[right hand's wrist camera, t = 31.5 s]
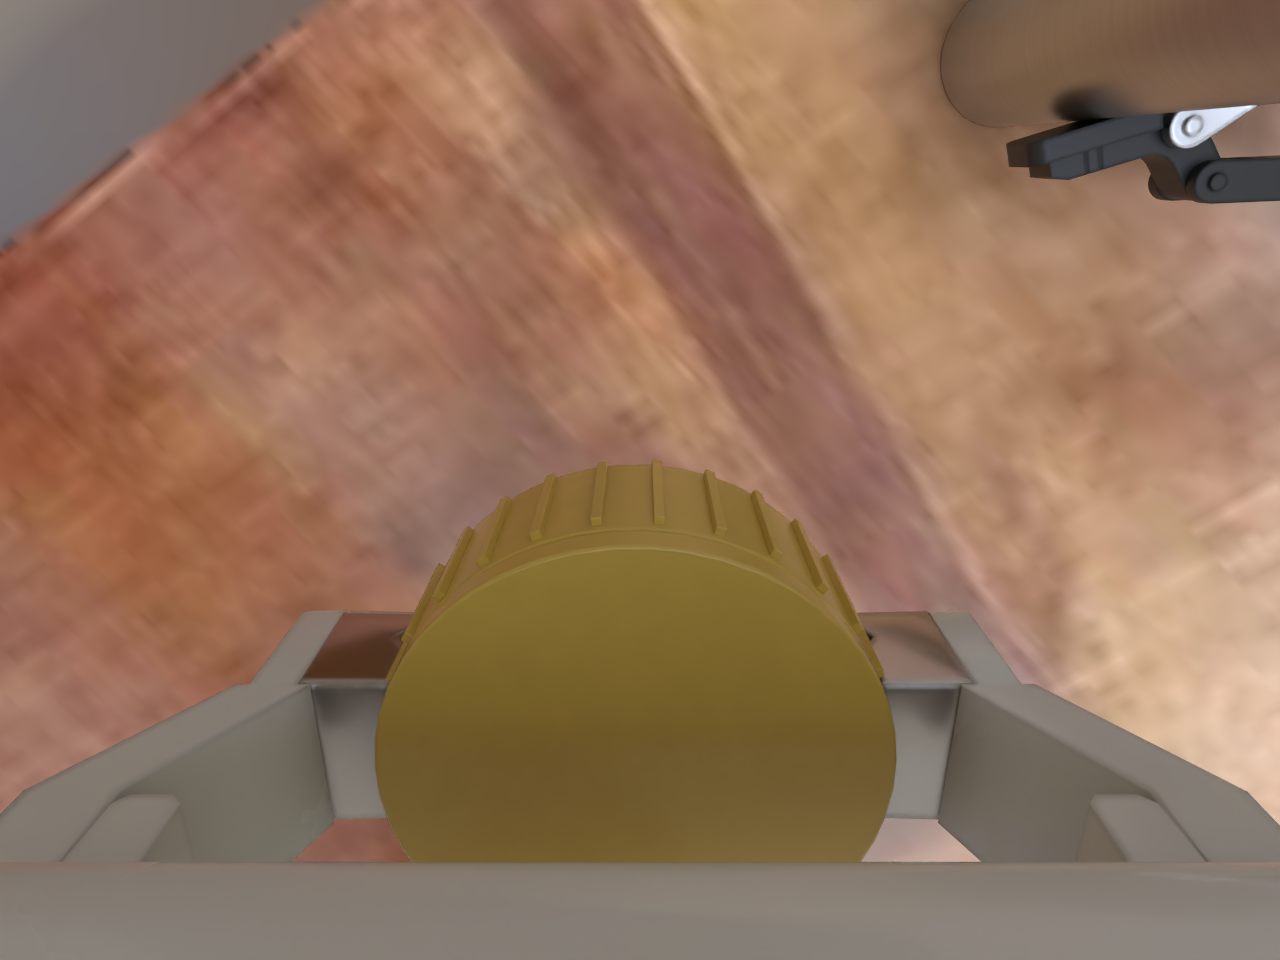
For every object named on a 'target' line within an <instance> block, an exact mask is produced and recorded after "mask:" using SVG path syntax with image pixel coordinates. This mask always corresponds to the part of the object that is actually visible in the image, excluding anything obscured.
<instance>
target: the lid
mask: <svg viewBox="0 0 1280 960" xmlns="http://www.w3.org/2000/svg"><path fill="white" fill-rule="evenodd" d="M401 641H403V644H402V646H401V648H400V650H399V652H398V654H397V656H396V658H395V660H394V662H393V664H392V666H391V668H390V670H389V672H388V674H387V676H386V679H385V680H390V682H389V684H388V687H387V690H386V693H385V696H384V699H383V702H382V705H381V708H380V711H379V715H378V722H377V728H376V734H375V772H376V778H377V784H378V790H379V796H380V799H381V802H382V805H383V808H384V811H385V814H386V817H387V820H388V823H389V825H390V827H391V829H392V831H393V833H394V835H395V836H396V838H397V840H398V842H399V844H400V846H401V848H402V849H403V851H404V852H405V853H406V855H407V856H408V858H409V859H410V861H411V862H861V861H862V859H863V857H864V856H865V854H866V853H867V851H868V850H869V848H870V847H871V845H872V844H873V842H874V840H875V838H876V836H877V834H878V832H879V829H880V827H881V825H882V823H883V821H884V819H885V816H886V813H887V810H888V806H889V803H890V799H891V796H892V792H893V788H894V780H895V771H896V763H897V753H896V732H895V728H894V723H893V718H892V713H891V709H890V704H889V702H888V699H887V697H886V694H885V692H884V689H883V686H882V684H881V681H880V679H879V678H880V677H883V676H885V674H884V671H883V668H882V666H881V664H880V661H879V659H878V657H877V655H876V653H875V651H874V649H873V647H872V644H871V642H870V640H869V638H868V636H867V634H866V632H865V630H864V627H863V625H862V623H861V621H860V619H859V617H858V615H857V613H856V610H855V608H854V606H853V604H852V602H851V600H850V598H849V596H848V594H847V592H846V590H845V588H844V586H843V584H842V581H841V579H840V577H839V575H838V573H837V571H836V569H835V566H834V564H833V562H832V560H831V559H830V557H829V556H828V555H825V556H824V557H821V555H820V554H819V553H818V551H817V550H816V549H815V548H814V546H813V545H812V544H811V543H810V541H809V539H808V537H807V535H806V532H805V530H804V528H803V526H802V523H800V522H799V521H798V520H797V519H795V520H794V521H792V522H790V521H789V520H788V519H787V518H786V517H785V516H784V515H783V514H781V513H780V512H778V511H777V510H776V509H774V508H773V507H771V506H770V505H769V504H767V503H766V502H765V501H764V498H763V495H762V493H760V492H758V491H756V490H754V491H753V492H752V494H750V493H748V492H747V491H745V490H743V489H741V488H739V487H737V486H735V485H733V484H730V483H727V482H725V481H722V480H719V479H716V478H715V474H714V472H711V471H708V470H705V473H704V474H701V473H696V472H692V471H688V470H684V469H679V468H672V467H662V462H661V461H652V465H616V466H609V467H608V464H607V462H602V463H598V466H597V468H594V469H587V470H583V471H579V472H576V473H572V474H568V475H565V476H561V477H557V478H556V476H555V474H552V475H549V476H546V479H545V482H544V483H543V484H540V485H538V486H535V487H533V488H531V489H529V490H527V491H525V492H523V493H522V494H520V495H518V496H516V497H515V498H513V499H511V500H510V498H509V497H508V496H506V497H504V498H502V499H501V500H500V502H499V504H498V507H497V509H496V510H495V511H494V512H493V513H491V514H490V515H489V516H488V517H486V518H485V519H484V520H483V521H482V522H481V523H480V524H479V525H478V526H477V527H476V528H475V529H474V530H472V529H471V528H470V527H469V526H468V527H467V528H466V529H465V530H464V531H463V532H462V534H461V536H460V539H459V541H458V543H457V545H456V547H455V549H454V551H453V553H452V556H451V558H450V559H449V560H448V562H447V564H446V566H444V565H442V564H440V563H439V564H438V566H437V568H436V570H435V572H434V574H433V576H432V578H431V580H430V582H429V584H428V586H427V588H426V590H425V592H424V594H423V596H422V598H421V600H420V602H419V604H418V606H417V608H416V610H415V612H414V614H413V616H412V618H411V620H410V622H409V624H408V626H407V628H406V630H405V632H404V634H403V636H402V638H401Z"/></svg>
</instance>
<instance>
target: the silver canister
mask: <svg viewBox="0 0 1280 960" xmlns="http://www.w3.org/2000/svg"><path fill="white" fill-rule="evenodd" d="M941 74H942V81H943V85H944V88H945V91H946V94H947V96H948V98H949V100H950V101H951V103H952V104H953V106H954V107H955V108H956V110H957V111H958V112H959V113H960V114H961V115H963V116H964V117H965V118H967V119H968V120H970V121H972V122H974V123H976V124H979V125H982V126H986V127H994V128H1001V127H1013V126H1024V125H1036V124H1047V123H1058V122H1070V121H1081V120H1093V119H1104V118H1115V117H1127V116H1138V115H1150V114H1161V113H1173V112H1184V111H1195V110H1207V109H1218V108H1230V107H1241V106H1252V105H1264V104H1275V103H1280V0H970V1H969V2H968V3H967V4H966V5H965V6H964V7H963V8H962V10H961V11H960V12H959V13H958V15H957V16H956V18H955V19H954V21H953V23H952V25H951V27H950V29H949V31H948V33H947V36H946V38H945V42H944V46H943V50H942V57H941Z"/></svg>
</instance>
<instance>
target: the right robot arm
mask: <svg viewBox="0 0 1280 960" xmlns="http://www.w3.org/2000/svg"><path fill="white" fill-rule="evenodd" d="M413 614H414V612H379V611H349V612H348V611H346V610H332V611H308V612H304V613H302V614H301V615H300V617H299V618H298V619H297V621H296V622H295V623H294V625H293V626H292V627H291V629H290V630H289V631H288V633H287V634H286V635H285V637H284V638H283V639H282V641H281V642H280V643H279V645H278V646H277V647H276V649H275V650H274V651H273V653H272V654H271V655H270V657H269V658H268V659H267V661H266V662H265V663H264V665H263V666H262V668H261V669H260V670H259V672H258V673H257V674H256V676H255V677H254V678H253V680H252V681H251V682H250V684H236V685H234V686H232V687H230V688H228V689H226V690H224V691H222V692H220V693H218V694H216V695H214V696H212V697H210V698H208V699H206V700H204V701H202V702H200V703H198V704H196V705H194V706H192V707H190V708H188V709H186V710H184V711H182V712H180V713H178V714H176V715H174V716H172V717H170V718H168V719H166V720H164V721H162V722H160V723H158V724H156V725H154V726H152V727H150V728H148V729H146V730H144V731H142V732H140V733H138V734H136V735H134V736H132V737H130V738H128V739H126V740H124V741H122V742H120V743H118V744H116V745H114V746H112V747H110V748H108V749H106V750H104V751H102V752H100V753H98V754H96V755H94V756H92V757H90V758H88V759H86V760H84V761H82V762H80V763H78V764H76V765H74V766H72V767H70V768H68V769H66V770H64V771H62V772H60V773H58V774H56V775H54V776H52V777H50V778H48V779H46V780H44V781H42V782H40V783H38V784H36V785H34V786H32V787H30V788H28V789H26V790H24V791H23V792H22V793H21V794H20V795H19V796H18V797H17V798H16V799H15V800H14V801H13V802H12V803H11V804H10V805H9V806H8V807H7V808H6V809H5V810H4V811H3V812H2V813H1V814H0V960H1280V825H1279V824H1278V823H1277V822H1276V821H1275V820H1274V819H1273V818H1272V817H1271V816H1270V815H1269V814H1268V813H1267V812H1266V811H1265V810H1264V809H1263V808H1262V807H1261V806H1260V804H1259V803H1258V802H1257V801H1256V800H1255V799H1254V798H1253V797H1252V796H1251V795H1250V794H1249V793H1248V792H1247V791H1245V790H1243V789H1241V788H1239V787H1237V786H1235V785H1233V784H1231V783H1229V782H1227V781H1225V780H1223V779H1221V778H1219V777H1217V776H1215V775H1213V774H1211V773H1209V772H1207V771H1205V770H1203V769H1201V768H1199V767H1197V766H1195V765H1193V764H1191V763H1189V762H1187V761H1186V760H1184V759H1182V758H1180V757H1178V756H1176V755H1174V754H1172V753H1170V752H1168V751H1166V750H1164V749H1162V748H1160V747H1158V746H1156V745H1154V744H1152V743H1150V742H1148V741H1146V740H1144V739H1142V738H1140V737H1138V736H1136V735H1134V734H1132V733H1130V732H1128V731H1126V730H1124V729H1122V728H1120V727H1118V726H1116V725H1114V724H1112V723H1110V722H1108V721H1107V720H1105V719H1103V718H1101V717H1099V716H1097V715H1095V714H1093V713H1091V712H1089V711H1087V710H1085V709H1083V708H1081V707H1079V706H1077V705H1075V704H1073V703H1071V702H1069V701H1067V700H1065V699H1063V698H1061V697H1059V696H1057V695H1055V694H1053V693H1051V692H1049V691H1047V690H1045V689H1043V688H1041V687H1039V686H1037V685H1035V684H1022V683H1021V682H1020V681H1019V679H1018V678H1017V676H1016V675H1015V674H1014V672H1013V671H1012V670H1011V668H1010V667H1009V666H1008V664H1007V663H1006V662H1005V660H1004V659H1003V657H1002V656H1001V655H1000V653H999V652H998V651H997V649H996V648H995V647H994V645H993V644H992V642H991V641H990V640H989V638H988V637H987V636H986V634H985V633H984V632H983V630H982V629H981V628H980V626H979V625H978V623H977V622H976V621H975V619H974V618H973V617H972V615H971V614H970V613H968V612H966V611H964V610H950V611H915V612H874V613H857V615H858V617H859V619H860V621H861V623H862V625H863V627H864V630H865V632H866V634H867V636H868V638H869V640H870V642H871V644H872V647H873V649H874V651H875V653H876V655H877V657H878V659H879V661H880V664H881V666H882V668H883V671H884V674H885V676H883V677H880V678H879V679H880V681H881V684H882V686H883V689H884V692H885V694H886V697H887V699H888V702H889V704H890V709H891V713H892V718H893V723H894V728H895V732H896V753H897V763H896V771H895V780H894V788H893V792H892V796H891V799H890V803H889V806H888V810H887V813H886V816H885V818H908V819H939V821H938V823H939V824H940V825H941V826H942V827H944V828H945V829H946V830H947V831H948V832H949V833H950V834H951V835H952V836H954V837H955V838H956V839H957V840H958V841H959V842H960V843H961V844H962V845H963V846H965V847H966V848H967V849H968V850H969V851H970V852H971V853H972V854H973V855H975V856H976V857H977V858H978V859H979V860H980V861H981V862H291V861H292V860H293V859H294V858H295V857H296V856H297V855H298V854H300V853H301V852H302V851H303V850H304V849H305V848H306V847H307V846H309V845H310V844H311V843H312V842H313V841H314V840H315V839H316V838H317V837H319V836H320V835H321V834H322V833H323V832H324V831H325V830H326V829H328V828H329V827H330V826H331V825H332V824H333V819H363V818H387V817H386V814H385V811H384V808H383V805H382V802H381V799H380V796H379V790H378V784H377V778H376V772H375V734H376V728H377V722H378V715H379V711H380V708H381V705H382V702H383V699H384V696H385V693H386V690H387V687H388V684H389V682H390V680H385V679H386V676H387V674H388V672H389V670H390V668H391V666H392V664H393V662H394V660H395V658H396V656H397V654H398V652H399V650H400V648H401V646H402V644H403V641H401V638H402V636H403V634H404V632H405V630H406V628H407V626H408V624H409V622H410V620H411V618H412V616H413Z"/></svg>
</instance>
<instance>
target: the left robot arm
mask: <svg viewBox="0 0 1280 960" xmlns="http://www.w3.org/2000/svg"><path fill="white" fill-rule="evenodd" d="M1257 106H1259V105H1252V106H1241V107H1230V108H1218V109H1207V110H1195V111H1184V112H1173V113H1161V114H1150V115H1138V116H1127V117H1115V118H1104V119H1093V120H1081V121H1076V122H1073V123H1069V124H1066V125H1063V126H1060V127H1056V128H1053V129H1050V130H1047V131H1043V132H1040V133H1037V134H1034V135H1031V136H1027V137H1024V138H1021V139H1018V140H1014V141H1012V142H1009V143H1007V144H1006V146H1007V154H1008V161H1009V167H1029V171H1030V177H1034V178H1044V179H1062V180H1070V179H1073V178H1076V177H1080V176H1083V175H1086V174H1089V173H1093V172H1096V171H1099V170H1102V169H1106V168H1109V167H1113V166H1116V165H1119V164H1123V163H1126V162H1129V161H1133V160H1136V159H1139V158H1141V159H1142V160H1143V161H1144V162H1145V163H1146V165H1147V166H1148V169H1149V171H1150V173H1151V175H1150V177H1149V182H1148V188H1149V191H1150V193H1151V194H1152V196H1153V197H1155V198H1157V199H1160V200H1172V201H1173V200H1192V201H1195V202H1198V203H1211V204H1213V203H1236V202H1259V201H1280V156H1257V157H1234V158H1220V156H1219V154H1218V151H1217V149H1216V147H1215V145H1214V143H1213V140H1212V138H1211V136H1212V135H1214V134H1215V133H1217V132H1218V131H1220V130H1221V129H1223V128H1224V127H1226V126H1227V125H1229V124H1230V123H1232V122H1233V121H1235V120H1236V119H1238V118H1239V117H1241V116H1242V115H1244V114H1245V113H1247V112H1248V111H1250V110H1251V109H1253V108H1255V107H1257Z"/></svg>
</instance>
